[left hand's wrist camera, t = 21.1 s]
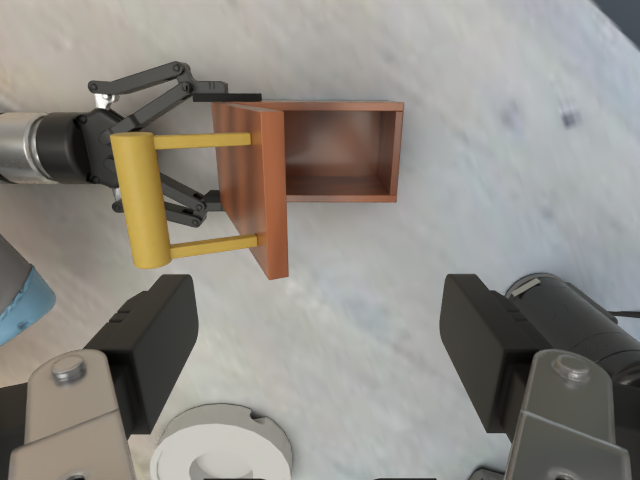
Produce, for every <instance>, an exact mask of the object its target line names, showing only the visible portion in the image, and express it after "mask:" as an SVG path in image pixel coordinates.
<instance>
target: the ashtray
mask: <svg viewBox="0 0 640 480" xmlns="http://www.w3.org/2000/svg"><path fill="white" fill-rule="evenodd" d="M250 413H252V412H251V409H248V408H245V407H242V406H236V405H228V404H213V405H203V406H200V407H196V408H193V409H190V410H187V411H185V412H184V413H182V414H180V415H179V416H177V417H176V418H174V419H173V420H172V421H171V422H170V424H169V425H168V427H167V429H166V431H165V433H164V434H163V436H162V437H161V439H160V440H159V442H158V445H157V447H156V449H155V451H154V454H153V456H152V459H151V461H150V476H151V479H152V480H204V478H261V479H265V480H291V473H292V459H293V456H292V450H291V444H290V442H289V441H288V439H287V437H286V435H285V433H284V432H283V431H282V430H281V429H280V428H279V427H278V426H277V425H276V424H275V423H274V422H273V421H272V420H271V419H269V418H267V417H263V418H258V419H251V417H250Z"/></svg>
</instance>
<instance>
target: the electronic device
mask: <svg viewBox="0 0 640 480" xmlns="http://www.w3.org/2000/svg"><path fill="white" fill-rule="evenodd" d="M503 479H504V475H502V474H499V473H495V472H492V471H488V470H485V469H480V470H478V471H476V472H474V474H473V475H472V476H471V478H470V479H469V480H503Z"/></svg>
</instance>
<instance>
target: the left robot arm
mask: <svg viewBox="0 0 640 480" xmlns="http://www.w3.org/2000/svg"><path fill="white" fill-rule="evenodd" d="M614 316H625V317H635V318H640V312H626V311H621V312H610V311H606V310H605V309H604V308H602V307H601V306H600V305H598V304H597V303H596V302H594V301H593V300H592V299H590V298H589V297H588V296H587V295H585V294H584V293H583V292H581V291H580V290H579V289H577V288H576V287H575V286H574V285H572V284H571V283H565V282H563V281H562V280H561V279H559V278H558V277H556V276H554V275H551V274H546V273H538V274H532V275H529V276H526V277H524V278H522V279H520V280H519V281H517V282H516V283H515V284H513V285H512V286H511V288H510V289H509V290H508V291H507V293H506V295H505V296H503V295H501V294H500V293H498V292H496V291H494V290H489V289H488V288H487V287H486V286H485V285H484V283H483V282H482V281H481V280H480V279H479V278H478V276H477V275H476V274H448V275H447V276H446V279H445V284H444V291H443V299H442V306H441V314H440V335H441V339H442V342H443V344H444V346H445V348H446V350H447V352H448V354H449V356H450V358H451V361H452V363H453V365H454V367H455V369H456V371H457V373H458V375H459V377H460V379H461V381H462V383H463V385H464V387H465V389H466V391H467V393H468V395H469V397H470V399H471V401H472V404H473V406H474V408H475V410H476V412H477V414H478V416H479V418H480V420H481V422H482V424H483V426H484V428H485V430H486V432H487V433H506V434H507V436H508V438H509V440H510V441H511V443H512V446H511V450H510V454H509V458H508V462H507V467H506V471H505V475H504V479H503V480H640V342H638V341H637V340H636V339H634V338H633V337H632V336H631V335H629V334H628V333H627V332H625V331H624V330H623V329H622V328H620V327H619V326H618V325H617V324H618V321H617V319H616V318H615V317H614ZM198 326H199V324H198V315H197V307H196V300H195V292H194V285H193V280H192V277H191V276H190V275H189V274H164V275H162V276H161V277H160V278H159V279H158V280H157V281H156V282H155V284H154V285H153V286H152V287H151V288H150V289H149V291H143V292H141V293H139V294H137V295H136V296H134V297H132V298H131V299H129V300H127V301H126V302H125V304H124V305H123V306H122V307H121V308H120V309H119V310H118V313H115V314H114V316H113V317H112V318H111V319H110V320H109V323H106V324H105V325H104V326H103V327H102V329H101V330H100V331H99V332H98V333H97V334H96V335H95V336H94V337H93V338H92V339H91V341H90V342H89V343H88V344H87V345H86V346H85V347H84V348H83V349H82V350H75V351H71V352H67V353H64V354H61V355H59V356H57V357H54V358H52V359H51V360H49V361H47V362H45V363H44V364H42V365H41V366H40V367H38V368H37V369H36V370H35V371H34V372H33V373H32V375H31V376H30V378H29V380H28V382H27V383H23V384H18V385H13V386H8V387H4V388H0V480H137V479H136V475H135V471H134V467H133V463H132V458H131V454H130V450H129V446H128V442H127V441H128V439H129V437H130V435H131V434H151V432H152V430H153V428H154V426H155V424H156V422H157V420H158V417H159V415H160V413H161V411H162V409H163V407H164V405H165V403H166V401H167V399H168V397H169V395H170V393H171V391H172V389H173V387H174V385H175V383H176V381H177V379H178V377H179V375H180V373H181V371H182V369H183V367H184V365H185V363H186V361H187V359H188V357H189V355H190V353H191V351H192V349H193V347H194V345H195V343H196V340H197V336H198ZM204 480H265V479H261V478H204ZM375 480H436V478H379V479H375Z"/></svg>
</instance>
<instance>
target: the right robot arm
mask: <svg viewBox="0 0 640 480" xmlns="http://www.w3.org/2000/svg"><path fill="white" fill-rule="evenodd" d="M174 79H177V80H178V83H179V84H178V85H177V86H175V87H174V88H172V89H171V90H169V91H167V92H166V93H164V94H163V95H161V96H160V97H158V98H157V99H155V100H154V101H152V102H151V103H149V104H148V105H146V106H145V107H143V108H142V109H140V110H139V111H137V112H135V113H134V114H132V115H130V116H128V117H126V118H124V117H122V116H121V115H119V114H118V113H116V112H115V111H113V110H112V109H110V106H111V104H112V103H114V102H117V101H118V100H119V97H120V96H119V94H129V93H133V92H136V91H139V90H142V89H145V88H149V87H152V86H155V85H158V84H161V83H164V82H168V81H171V80H174ZM88 89H89V90H90V92H92V93H94V94H95V102H96V109H94V110H93V111H91V112H89V113H50V114H48V113H10V112H7V113H0V184H3V183H14V184H58V183H62V184H103V185H106V186H108V187H110V188H112V190H113V194H114V197H115V201H116V202H115V203H113V205H112V209H113V210H114V211H115V212H118V213H121V212H124V209H123V203H122V198H121V193H120V188H119V182H118V177H117V172H116V166H115V161H114V156H113V151H112V145H111V140H110V135H111V134H115V133H125V132H141V131H140V130H141V129H143V128H144V127H146V126H148V125H149V124H150V123H151V122H152V121H154V120H156V119H157V118H159V117H160V116H162V115H163V114H165V113H166V112H168V111H169V110H171V109H173V108H174V107H176V106H177V105H179V104H180V103H182V102H183V101H185V100H187V99H188V98H190V97H191V96H193V102H225V101H246V102H258V101H262V96H261V94H228V84H227V83H225V82H221V81H196V80H195V79H194V78H193V76H192V74H191V72H190V67H189V65H188V64H186V63H182V62H177V61H175V62H171V63H168V64H165V65H162V66H159V67H156V68H153V69H149V70H146V71H143V72H140V73H137V74H134V75H131V76H128V77H124V78H121V79H118V80H115V81H112V82H109V81H90V82H89V83H88ZM160 179H161V186H162V193H163V194H164V195H166V196H167V197H169V198H171V199H173V200H175V201H177V202H179V203H181V204H183V205H185V206H187V207H189V208H187V207H184V206H180V205H176V204H172V203H168V202H165V201H164V206H165V213H166V219H167V220H168V221H172V222H176V223H180V224H183V225H187V226H191V227H196V228H197V227H199V226H200V225H201V224H202V223H203V222H204V221H205V219H206V214H207V212H208V211H225V210H224V208H223V207H222V205H221V201H220V190H210V191H209V192H208V193H207V194H206V195H205V196H204V195H202V194H201V193H199V192H197V191H195V190H193V189H191V188H189V187H187V186H185V185H183V184H181V183H179V182H177V181H176V180H174V179H172V178H170V177H168V176H166V175H164V174H162V173H160ZM55 302H56V296H55V294H54V292H53V291H52V289H51V288H50V287H49V286H48V284H47V283H46V282H45V281H44V279H43V278H42V277H41V276H40V274H39V273H38V272H37V271H36V269H35V267H34V265H32V264H29V263H28V262H27V261H26V260H25V259H24V258H23V257H22V256H21V255H20V253H19V252H18V251H17V250H16V249H15V248H14V247H13V246H12V245H11V244H10V243H9V242H8V241H7V240H6V239H5V238H4V237H3V236H2V235H1V234H0V346H1V345H3V344H4V343H6V342H8V341H9V340H11V339H12V338H14V337H15V336H17V335H18V334H20V333H21V332H23V331H24V330H25V329H26V328H28V327H29V326H30V325H32V324H34V323H35V322H36V321H38V320H39V319H40V318H42V317H43V316H44V315H45V314H47V313H48V312H49V311H50V310H51V309H52V308H53V306H54V305H55Z"/></svg>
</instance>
